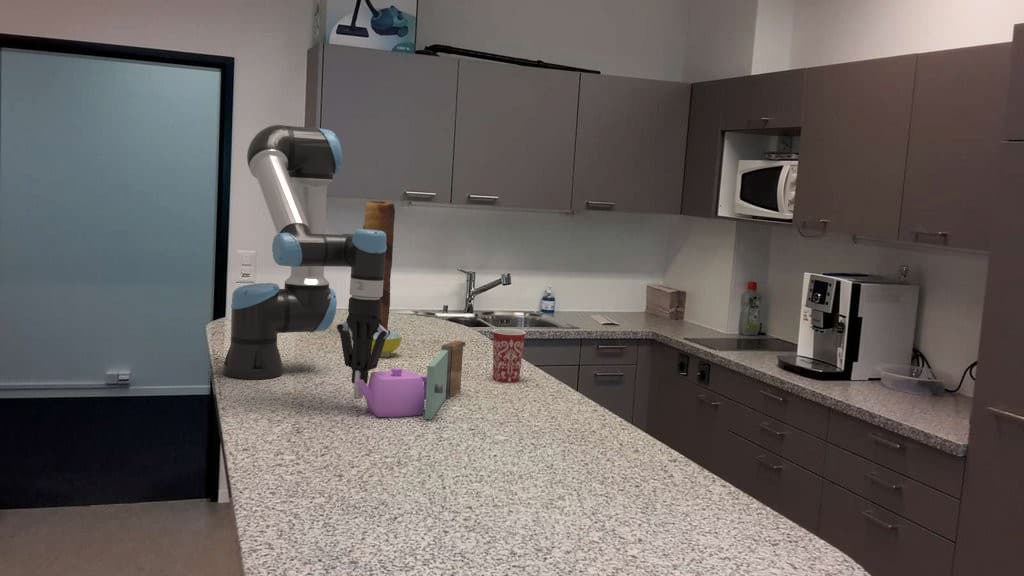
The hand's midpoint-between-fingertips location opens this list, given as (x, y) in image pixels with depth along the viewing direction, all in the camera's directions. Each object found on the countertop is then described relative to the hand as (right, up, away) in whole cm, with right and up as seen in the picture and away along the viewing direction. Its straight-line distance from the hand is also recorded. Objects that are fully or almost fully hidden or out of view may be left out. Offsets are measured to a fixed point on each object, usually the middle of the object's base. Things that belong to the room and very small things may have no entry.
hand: (358, 397), depth 214 cm
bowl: (-3, +5, +62) cm, 63 cm away
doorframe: (+20, -1, +17) cm, 26 cm away
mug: (+34, 0, +41) cm, 53 cm away
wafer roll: (-10, +9, +89) cm, 90 cm away
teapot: (+8, -3, -2) cm, 9 cm away
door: (+19, -3, +2) cm, 19 cm away
